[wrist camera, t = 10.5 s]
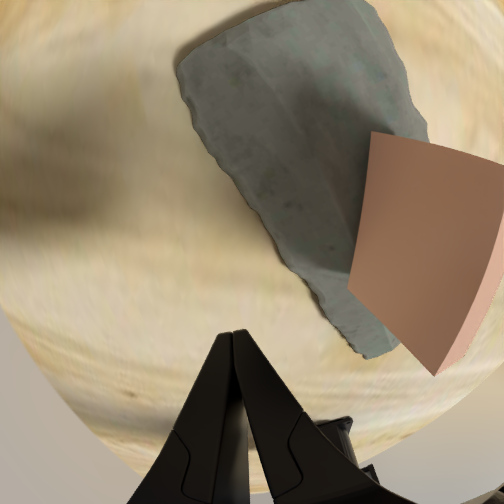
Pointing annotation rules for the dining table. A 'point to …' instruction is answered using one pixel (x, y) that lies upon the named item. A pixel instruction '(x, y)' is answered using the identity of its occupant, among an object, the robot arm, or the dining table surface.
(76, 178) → the dining table surface
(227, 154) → the stone slab
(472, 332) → the block
